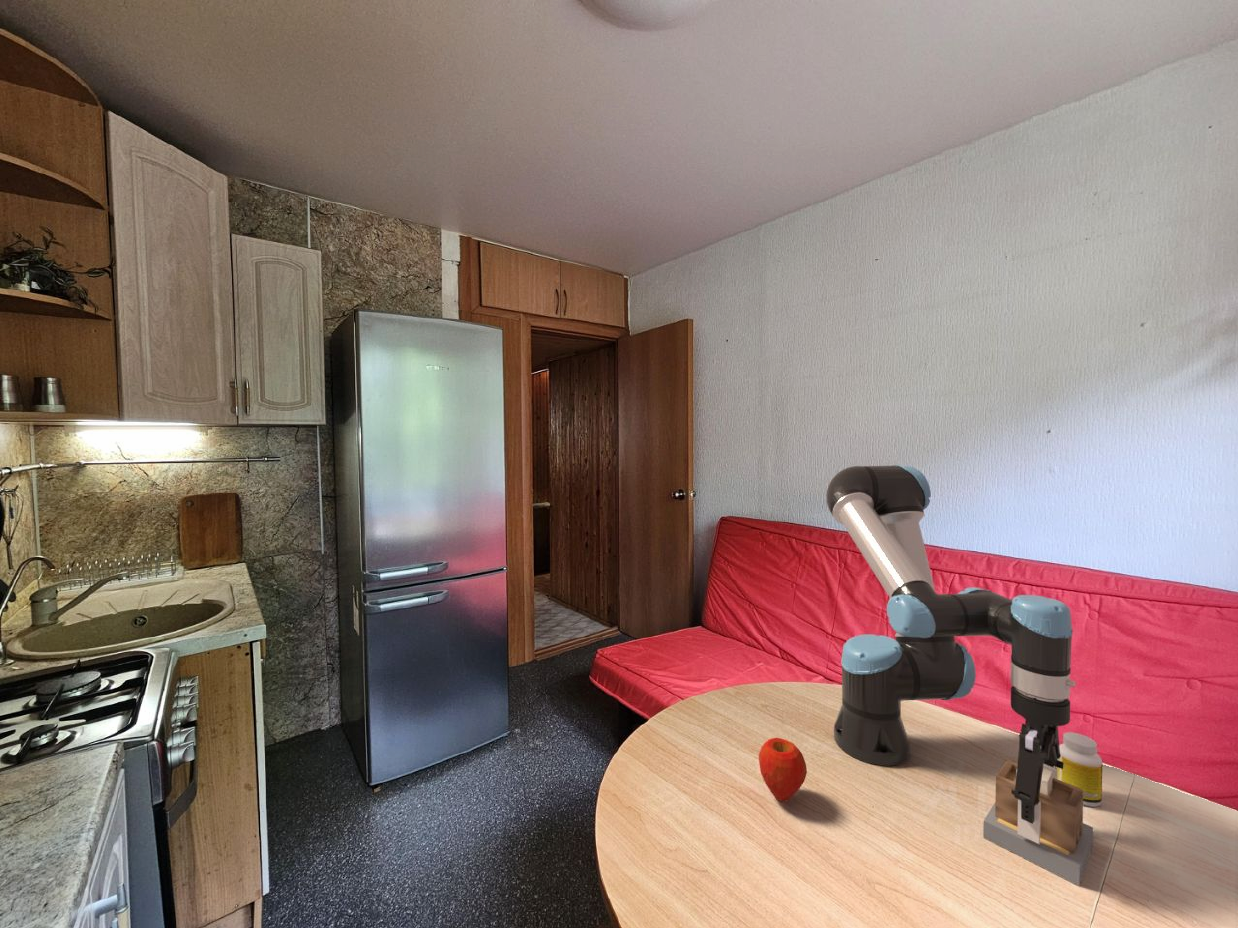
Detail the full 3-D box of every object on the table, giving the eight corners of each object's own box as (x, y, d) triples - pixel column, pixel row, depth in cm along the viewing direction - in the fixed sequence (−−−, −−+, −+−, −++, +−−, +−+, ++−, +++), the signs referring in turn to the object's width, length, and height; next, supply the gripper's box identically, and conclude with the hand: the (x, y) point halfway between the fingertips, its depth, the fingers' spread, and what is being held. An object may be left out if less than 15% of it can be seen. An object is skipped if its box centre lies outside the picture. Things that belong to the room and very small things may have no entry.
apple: (813, 796, 94) (813, 741, 93) (794, 821, 87) (794, 762, 87) (771, 776, 99) (770, 724, 99) (750, 798, 93) (750, 743, 93)
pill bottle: (1111, 810, 89) (1112, 750, 89) (1071, 805, 90) (1072, 747, 90) (1086, 786, 95) (1087, 731, 95) (1049, 782, 96) (1050, 728, 96)
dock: (983, 837, 83) (983, 819, 83) (1003, 804, 91) (1003, 788, 91) (1079, 886, 74) (1079, 866, 74) (1092, 844, 81) (1093, 826, 81)
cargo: (1016, 787, 82) (1016, 769, 82) (1021, 776, 85) (1022, 759, 85) (1047, 800, 79) (1047, 782, 79) (1052, 788, 82) (1052, 771, 82)
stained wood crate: (995, 816, 84) (995, 776, 84) (1006, 797, 88) (1007, 759, 88) (1073, 853, 76) (1074, 809, 76) (1082, 830, 80) (1083, 789, 80)
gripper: (1053, 728, 71) (1051, 873, 72) (1083, 677, 86) (1081, 798, 87) (990, 707, 77) (989, 841, 78) (1028, 663, 92) (1027, 776, 93)
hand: (1037, 819), depth 82 cm, fingers open, 11 cm apart
